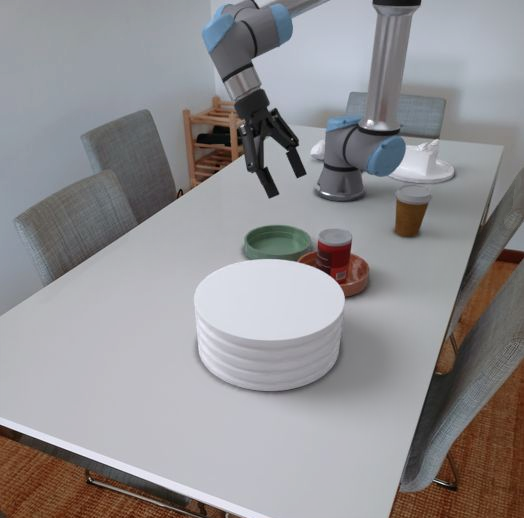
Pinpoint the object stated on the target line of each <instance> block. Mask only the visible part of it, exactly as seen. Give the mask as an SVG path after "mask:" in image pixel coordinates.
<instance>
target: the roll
mask: <svg viewBox="0 0 524 518" xmlns="http://www.w3.org/2000/svg"><path fill="white" fill-rule="evenodd" d="M324 151H325V139H321V140H319V141H318V142H316V144H315V145H314V146H312V148H311V150H310V153H309V154H310V156H311V157H312V158H314V159H316V160H318V161H324Z"/></svg>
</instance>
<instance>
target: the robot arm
mask: <svg viewBox="0 0 524 518" xmlns="http://www.w3.org/2000/svg"><path fill="white" fill-rule="evenodd" d="M330 1H331V0H242V1H240V2H238V3H235V4H233V3H227V4H222V5H221V6H219V7H218V8H217V9H216V10H215V12H214V15H213V19H211V20H210V21H209V22H207V23H206V24H205V25H204V26H203V28H202V29H201V36H202V40H203V43H204V45H205V48H206V50H207V53H208V55H209V57H210V59H211V61H212V63H213V65H214V68H215V70H216V71H217V74H218V75H219V77H220V80H221V82H222V84H223V86H224V88H225V90H226V92H227V94H228V97H229V99H230V101H231V102H234V104H233V105H234V106H233V109H234V110H235V112H236V114H237V117H238V119H239V120H240V121H244V123H243V124H240V125H239V126H238V127H237V130H238V133H239V135H240V138H241V144H242V149H243V155H244V161H245V167H246V171H247V172H248V173H251V174H254V173H255V174H256V176H257V179H258V181H259V182H260V184H261V186H262V187H263V189H264V191H265V193H266V195H267V198H268V200H269V199H272V198H275V197H278V196H279V195H280V192H279V189H278V187H277V185H276V183H275V181H274V179H273V176H272V174H271V172H270V170H269V168H268V166H265V140H266V137H270V138H272V139H273V140H274V141H275V142H276V143H277V144H279V145H280V146H281V147H282V148H283V149H285V150H286V151H287V152H285V155H286V158H287V160H288V162H289V164H290V166H291V169H292V171H293V172H294V176H295V178H296V179H299V178H302V177H304V176H307V175H308V174H307V170H306V168H305V166H304V164H303V161H302V159H301V156H300V154H299V151H298V149H297V148H298V147H299V146H300V139H299V137H298V136H297V135H296V134H295V133H294V131H293V130H292V129H291V127H290V126H289V125H288V124H287V122H286V121H285V120H284V118H283V117H282V116H281V113H280V112H279V110H278V108H277V107H274V108H272V109H268V107H270V104H271V102H270V100H269V97H268V95H267V93H266V90H265V89H264V88H261V87H262V85H263V83H262V81H261V78H260V77H259V74H258V71H257V70H256V68H255V65H254V63H253V59H256V58H257V57H259V56H261V55H264V54H266V53H268V52H270V51H273V50H274V49H276V48H280V47H281V46H282V45H284V44H285V43H287V42H289V41H290V40H291V38H292V36H293V33H294V25H293V19H294V18H296V17H298V16H300V15H302V14H305V13H307V12H309V11H311V10H313V9H315V8H317V7H319V6H321V5H324V4H325V3H328V2H330ZM371 5H372V7H373V8H374V10H375V12H376V14H377V15H376V22H375V29H374V37H373V46H372V54H371V62H370V71H369V79H368V88H367V95H366V103H365V111H364V115H360V114H344V115H343V114H342V115H336V116H332V117H330V118H329V119H328V120H327V121H326V129H325V133H324V134H325V136H324V140H325V151H324V159H323V166H322V169H321V172H320V175H319V176H318V177H319V178H318V180H317V182H316V184H315V193H316V195H318V197H320V198H323V199H325V200H329V201H333V202H352V201H356V200H358V199H360V198H362V197H363V196H364V190H365V187H364V182H363V176H362V172H365V173H367V174H368V175H370V176H374V177H378V178H385V177H388V176H389V174H391V173H392V172H394V171H395V170H396V168H397V167H398V166H399V165H400V164H401V162H402V160H403V158H404V155H405V151H406V145H407V144H406V141H405V139H404V138H403V137H402V136H400V134H401V133H400V132H401V128H402V124H401V123H400V122H399V120H398V118H397V116H398V109H399V103H400V97H401V91H402V85H403V78H404V73H405V67H406V66H405V65H406V61H407V60H406V59H407V54H408V47H409V42H410V33H411V27H412V23H413V22H412V21H413V15H414V14H415V13H416V11H417V10H419V9H420V8H421V7H422V0H372V2H371Z"/></svg>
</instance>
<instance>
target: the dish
mask: <svg viewBox="0 0 524 518" xmlns="http://www.w3.org/2000/svg"><path fill="white" fill-rule="evenodd" d="M439 143H440V140H439V139H438V138H436V139H433V141H432V142H430V143H429V141H427V142H422V143H421V144H418V145H409V144H406V151H405V155H404V158H403V160H402V162H401V164H400V165H399V166H398V167H397V168H396V170H395V171H394V172H392V173H391V174H389V175H388V177H391V178H392V179H396V180H398V181H402V182H406V183H415V184H436V183H443V182H447V181H449V180H451V179H452V178H453V177H454V175H455V168H454V166H453V165H451V164H450V163H448V162H446V161H443V160H441V159H438V155H439V151H440V146H436V145H438V144H439Z"/></svg>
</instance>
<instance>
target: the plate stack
mask: <svg viewBox="0 0 524 518" xmlns="http://www.w3.org/2000/svg"><path fill="white" fill-rule="evenodd" d="M193 304H194V305H193V306H194V315H195V327H196V334H197V335H196V336H197V346H198V354H199V358H200V360H201V362H202V364H203V365H204V366H205V367H206V369H207V370H208V371H209V372H210V373H211V374H213V375H214V376H216V377H217V378H218V379H220V380H221V381H224V382H226V383H228V384H230V385H233V386H235V387H238V388H242V389H246V390H252V391H259V392H279V391H287V390H292V389H293V390H294V389H297V388H300V387H304V386H307V385H309V384H312V383H313V382H316V381H317V380H319V379H320V378H322V377H323V376H325V375H326V374H327V373H328V372H329V371H330V370H331V369H332V368H333V366H335V364H336V362H337V360H338V357H339V353H340V343H341V335H342V329H343V320H344V312H345V305H346V297H345V296H344V293H343V290H342V289H341V287H340V285H339V284H338V283H337V282H336V281H335V280H334V279H333V278H332V277H330V276H329V275H328V274H326V273H324V272H323V271H321V270H319V269H317V268H314V267H312V266H309V265H306V264H302V263H298V262H294V261H288V260H278V259H258V260H251V259H249V260H243V261H239V262H235V263H231V264H227V265H225V266H223V267H220V268H218V269H216V270H214V271H213V272H211V273H210V274H208V275H207V276H206V277H204V278H203V279H202V281H201V282H200V283H199V284H198V285H197V287H196V289H195V291H194V295H193Z"/></svg>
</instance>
